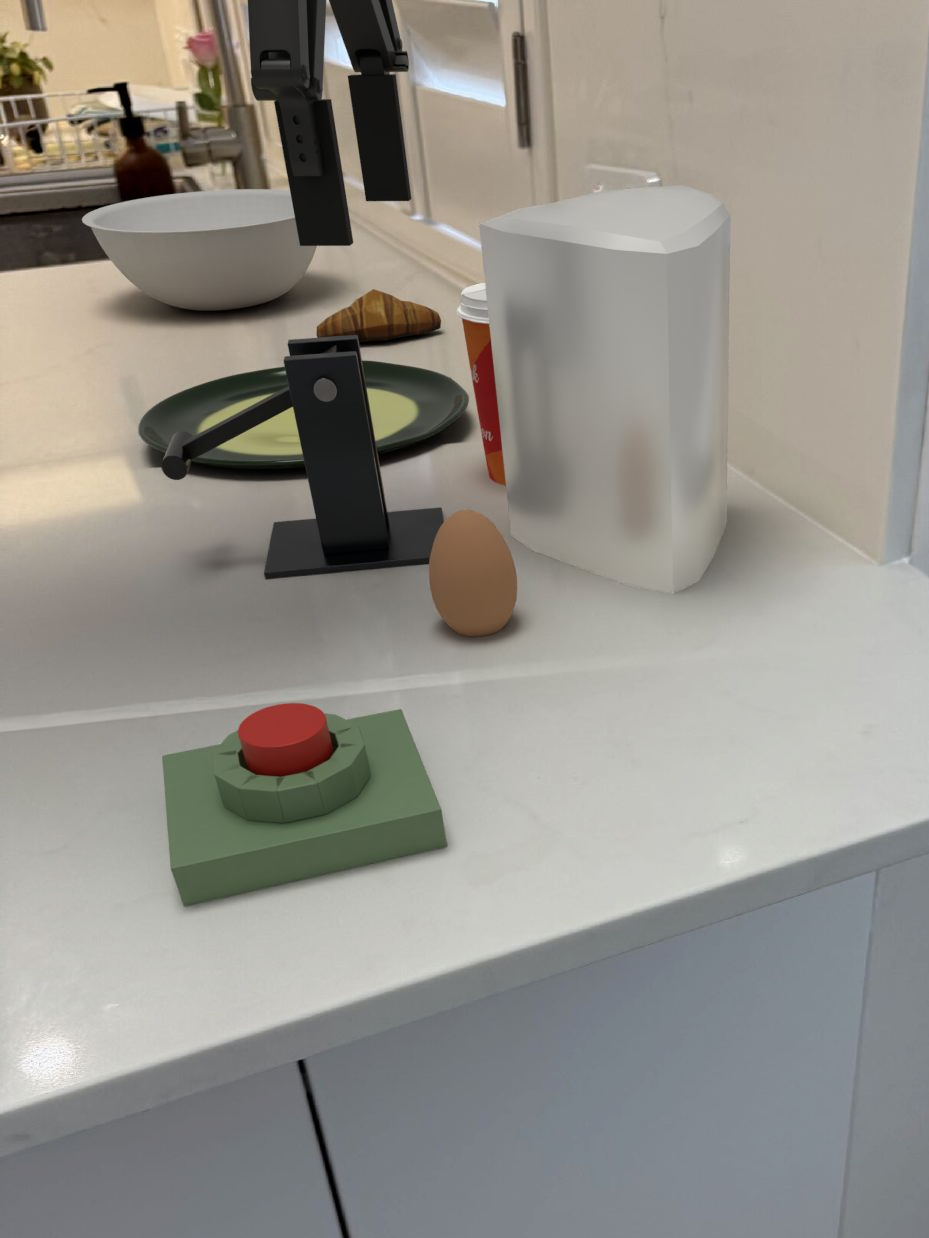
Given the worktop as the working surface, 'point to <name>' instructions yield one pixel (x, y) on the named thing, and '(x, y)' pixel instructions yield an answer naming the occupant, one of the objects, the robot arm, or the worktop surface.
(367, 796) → the control block
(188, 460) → the lever
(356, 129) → the robot arm
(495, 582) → the egg
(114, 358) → the worktop surface
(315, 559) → the bracket
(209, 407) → the plate
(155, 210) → the bowl
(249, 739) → the button
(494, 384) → the paper cup
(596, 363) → the frosted triangular prism
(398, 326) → the croissant
